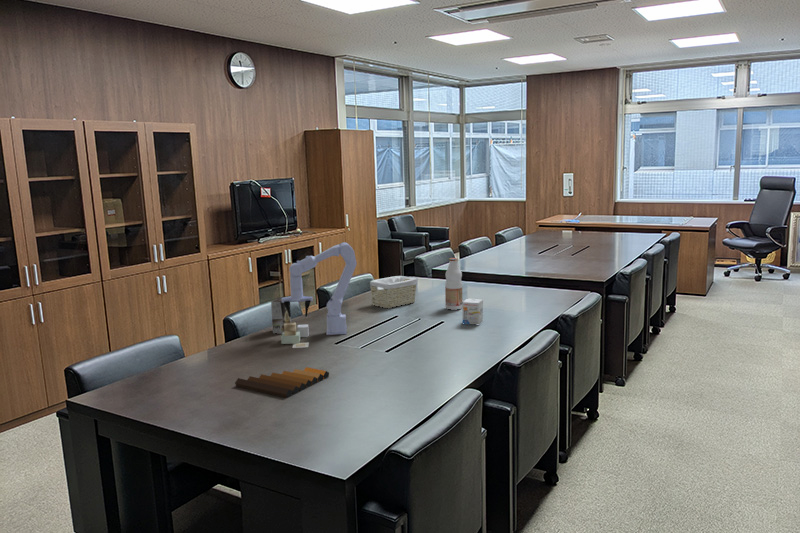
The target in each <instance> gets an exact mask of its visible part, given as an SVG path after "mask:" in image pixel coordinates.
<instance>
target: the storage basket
mask: <svg viewBox="0 0 800 533" xmlns="http://www.w3.org/2000/svg"><path fill="white" fill-rule="evenodd" d="M417 284H418V278H416V277H411V276H404V275H395V276H390V277H389V276H388V277H384V278H378V279H377V278H376V279H373V280H370V281H369V287H370V288H369V289H370V294H371V304H372V306H374V305H375V307H378V306H380V307H379V308H382V307H383V309H387V308H388V309H392V307H393V308H397V307H396V306H398V307H402V306H406V305H410V303H411V304H413V303H415V301H416V294H417V293H416V292H417ZM405 304H406V305H405ZM401 305H402V306H401Z"/></svg>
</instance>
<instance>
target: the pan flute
mask: <svg viewBox="0 0 800 533" xmlns="http://www.w3.org/2000/svg"><path fill="white" fill-rule="evenodd" d="M329 376H330V372H329V371H327V370H323V369H318V368H314V367H313V368H312V367H307V366H306V367H305V368H304V369H303V370H302V369H297V368H294V369H293V371H288V370H283V371H282V373H276V372H272V373H271V374H270V375H267V374H260V375H259V377H256V376H249V377H248V378H247V379H244V378H240V377H238V378H237V379H236V381H235V382H234V384H235V387H237V388H241V389H242V388H243V389H245V388H246V390H250V391H254V390H255V392H259V393H263V394H267V395H272V396H276V397H282V398H285V399H288V398H290V397H293V395H297V394H298V393H299V392H302V391H304V390H306V389H308V388H310V387H312V386H314V385H316V384H317V383H320V382H321V381H323V380H325V379H328V378H329Z"/></svg>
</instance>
